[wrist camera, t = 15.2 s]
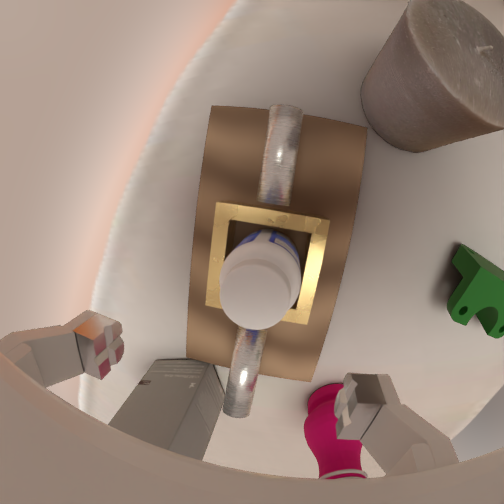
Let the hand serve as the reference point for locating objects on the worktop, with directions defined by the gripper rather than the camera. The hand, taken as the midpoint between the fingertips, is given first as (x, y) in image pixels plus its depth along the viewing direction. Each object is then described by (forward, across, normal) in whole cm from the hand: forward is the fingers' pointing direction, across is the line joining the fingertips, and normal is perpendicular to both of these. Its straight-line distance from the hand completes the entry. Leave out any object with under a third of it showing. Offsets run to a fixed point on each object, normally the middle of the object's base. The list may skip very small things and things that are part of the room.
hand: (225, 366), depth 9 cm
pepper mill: (+18, -11, +18) cm, 27 cm away
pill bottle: (+16, 0, +1) cm, 17 cm away
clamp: (+18, -24, 0) cm, 30 cm away
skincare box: (+18, +7, +19) cm, 27 cm away
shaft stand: (+18, 0, +1) cm, 18 cm away
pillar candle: (+18, -11, -16) cm, 27 cm away
